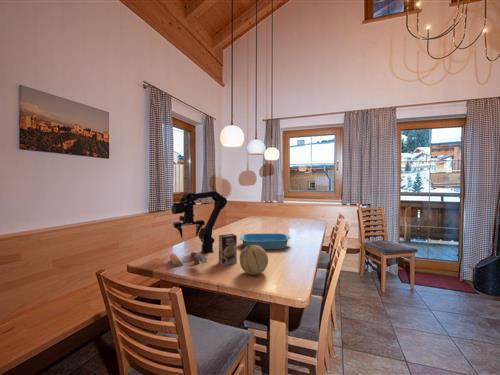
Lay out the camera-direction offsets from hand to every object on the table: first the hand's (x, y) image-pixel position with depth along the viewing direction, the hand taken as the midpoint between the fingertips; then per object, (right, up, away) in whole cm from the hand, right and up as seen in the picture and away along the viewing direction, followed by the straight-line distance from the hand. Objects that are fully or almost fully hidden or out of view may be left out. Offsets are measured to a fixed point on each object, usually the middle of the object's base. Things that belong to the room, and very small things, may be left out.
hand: (189, 237), depth 147 cm
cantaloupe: (+40, -13, -27) cm, 50 cm away
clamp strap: (+12, -8, -20) cm, 25 cm away
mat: (-4, -13, -13) cm, 19 cm away
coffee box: (+25, -13, -11) cm, 31 cm away
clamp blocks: (+6, -12, -9) cm, 17 cm away
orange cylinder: (-4, -12, -13) cm, 18 cm away
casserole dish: (+49, -12, +23) cm, 55 cm away
